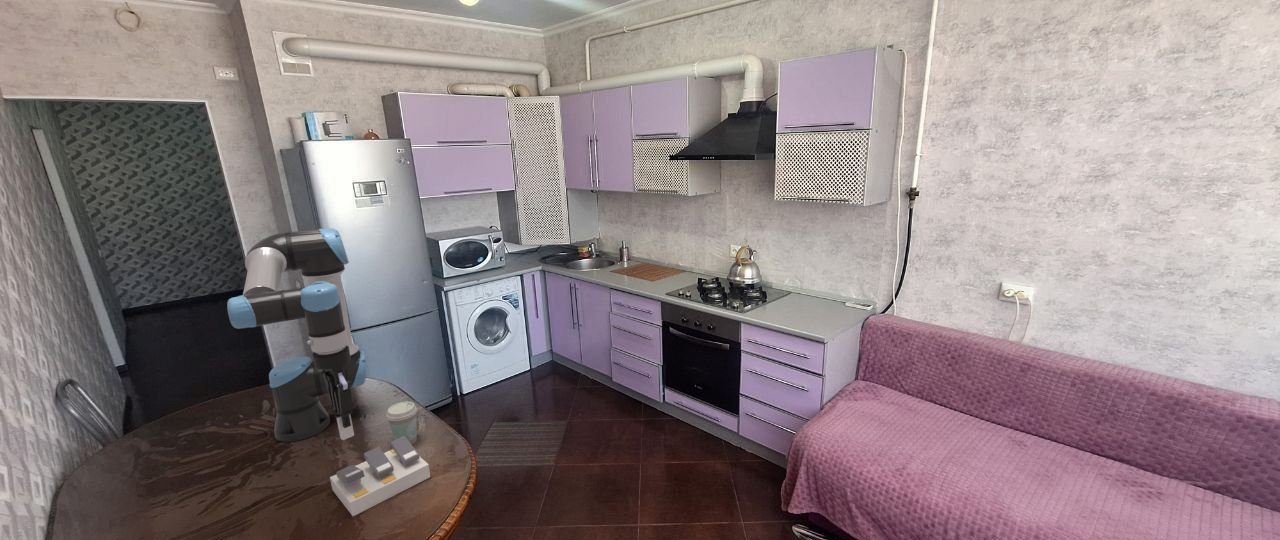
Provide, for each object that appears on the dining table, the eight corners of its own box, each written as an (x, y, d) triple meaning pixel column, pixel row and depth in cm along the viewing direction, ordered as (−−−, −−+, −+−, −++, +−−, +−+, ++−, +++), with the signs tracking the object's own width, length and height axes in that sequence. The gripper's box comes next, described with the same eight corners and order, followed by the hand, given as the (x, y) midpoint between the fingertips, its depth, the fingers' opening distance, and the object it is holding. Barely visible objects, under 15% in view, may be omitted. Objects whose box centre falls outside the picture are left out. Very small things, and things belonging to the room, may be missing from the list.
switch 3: (390, 446, 143) (390, 441, 142) (404, 439, 146) (404, 435, 145) (404, 465, 138) (404, 461, 137) (419, 458, 141) (419, 454, 140)
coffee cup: (410, 451, 152) (404, 416, 149) (385, 449, 154) (379, 413, 151) (427, 435, 160) (422, 401, 157) (403, 433, 162) (397, 399, 159)
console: (332, 490, 136) (328, 472, 135) (406, 455, 150) (404, 438, 149) (352, 516, 126) (349, 497, 125) (430, 476, 141) (427, 459, 139)
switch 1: (337, 477, 134) (335, 471, 133) (353, 470, 136) (352, 464, 136) (347, 484, 127) (345, 477, 127) (364, 476, 130) (362, 470, 130)
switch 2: (364, 457, 138) (363, 452, 137) (379, 450, 141) (379, 446, 140) (378, 478, 133) (377, 473, 132) (393, 471, 136) (393, 466, 135)
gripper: (304, 346, 122) (322, 433, 128) (321, 361, 113) (340, 453, 119) (338, 337, 127) (354, 421, 133) (357, 350, 119) (373, 439, 125)
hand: (347, 436), depth 126 cm, fingers closed
